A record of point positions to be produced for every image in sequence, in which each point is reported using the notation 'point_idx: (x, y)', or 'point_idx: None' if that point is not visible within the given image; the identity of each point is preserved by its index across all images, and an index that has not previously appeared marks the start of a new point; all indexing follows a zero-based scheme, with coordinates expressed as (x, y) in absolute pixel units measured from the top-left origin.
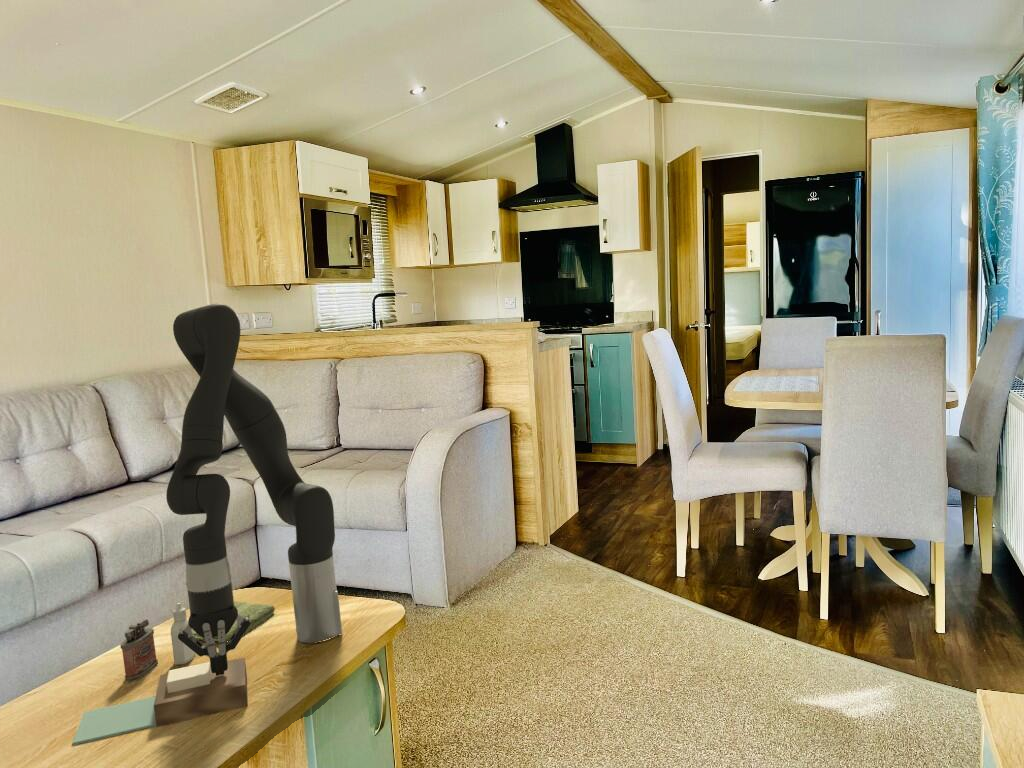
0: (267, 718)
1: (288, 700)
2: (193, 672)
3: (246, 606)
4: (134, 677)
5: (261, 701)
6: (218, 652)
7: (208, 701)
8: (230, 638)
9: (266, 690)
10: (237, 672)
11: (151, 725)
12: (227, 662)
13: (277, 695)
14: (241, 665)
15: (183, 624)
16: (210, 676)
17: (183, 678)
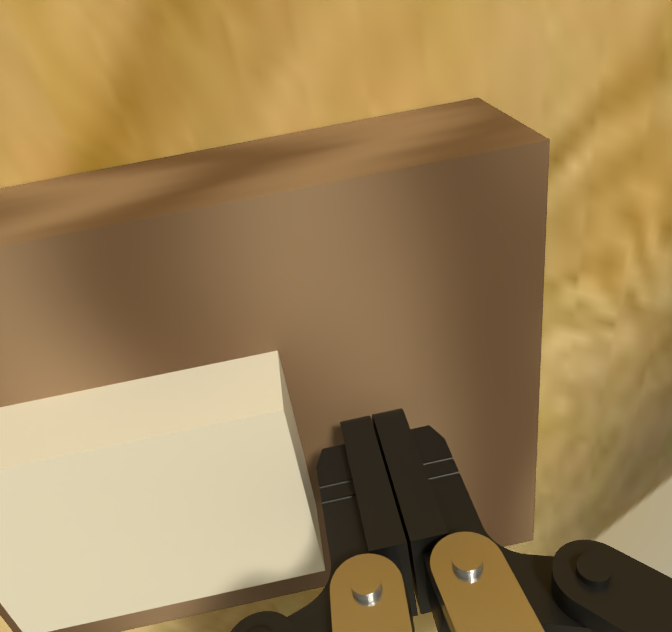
0: (562, 538)
1: (667, 434)
2: (190, 543)
3: None
4: None
5: (550, 419)
6: (413, 550)
7: None
8: (602, 624)
9: (585, 322)
10: (487, 401)
11: None
12: (450, 454)
13: (630, 383)
14: (517, 301)
15: None
16: (297, 431)
17: (143, 605)
